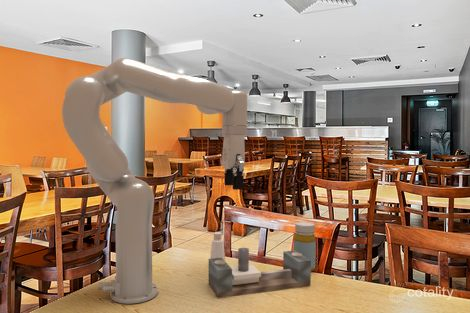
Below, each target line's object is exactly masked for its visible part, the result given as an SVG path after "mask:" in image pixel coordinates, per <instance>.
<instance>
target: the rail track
mask: <svg viewBox="0 0 470 313" xmlns="http://www.w3.org/2000/svg"><path fill="white" fill-rule="evenodd" d="M282 261H283V262H282V265H283V266H282V269H276V270H267V271H260V272H261V277H259V282H254V283H246V284H238V285H232V268H231V267H232V266H230V265H229V264H228V263H227V262H226V260H225V261H224V260H223V258H213V259H210V258H208V286H209V287H210V288H211V290H212V292H213V293H214V295H215V297H217V299H220V298H222V299H223V298H228V297H229V298H230V297H236V296H237V297H238V296H243V295H252V294H258V293H259V294H260V293H266V292H267V293H268V292H274V291H282V290H289V289H296V288H304V287H311V286H312V285H311V284H312V283H311V278H312V277H311V276H312V274H311V273H312V272H311V260H309V259H308V258H306V257H305V256H303V255H302V254H301V253H298V252H297V251H294V250H287V251H283V258H282Z"/></svg>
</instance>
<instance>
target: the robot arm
mask: <svg viewBox="0 0 470 313" xmlns="http://www.w3.org/2000/svg"><path fill="white" fill-rule="evenodd" d="M125 93H131V94H134V95H137V96H141V97H145V98H149V99H152V100H155V101H158V102H163V103H167V104H187V105H192V106H196V109H197V110H198V111H199V112H201V113H202V114H204V115H217V114H218V115H219V114H222V126H221V128H222V129H221V130H222V131H221V132H222V134H221V135H222V137H223V142H222V143H223V144H222V153H221V154H222V155H221V159H222V160H221V166H222V168H224V186H232V190H235V191H237V190H244V176H245V173H244V171H245V170H244V169H245V163H246V162H245V161H246V160H245V159H246V153H245V152H246V151H245V150H246V148H245V147H246V146H245V137H247V136H248V130H247V129H248V94H247V93H246V92H245V91H243V90H231V89H230V88H229V87H227V86H225V85H224V84H220V83H219V82H218V83H217V82H214V81H212V80H207V79H205V78H202V77H201V78H200V77H195V76H193V75H192V76H191V75H187V74H181V73H177V72H172V71H169V70H166V69H164V68H163V69H162V68H159V67H157V66H153V65H151V64H148V63H146V62H145V63H144V62H143V61H142V62H141V61H139V60H136V59H132V58H128V57H121V58H118V59H115V61H114V60H113V62H112V63H110V64H109V65H107V66H106V67H104V68H102V69H100V70H98V71H95V72H94V73H91V74H90V75H86V76H85V75H82V76H79V77H77V78H76V79H74V80H73V81H71V82H70V84H69V85H68V86H67V88H66V90H65V92H64V99H63V103H62V109H61V116H62V117H61V118H62V123H63V125H64V127H63V128H64V129H65V132H66V134H67V136H68V137H69V138H70V140H71V142H72V143H73V144H74V146H75V147H76V149H77V150H78V152H79V154H80V155H81V156H82V157H83V159H84V160H85V166H86V169H87V171H88V173H89V174H90V176H91V177H92V179H93V180H94V182H96V184H97V185H98V187H99V188H100V189H101V191H102V192H103V193H104V195H105V196H106V197H107V198H108V200H109V201H110V202H111V203H112V204H113V205H114V206H115V207H116V219H115V275H114V279H110V281H99V282H98V285H97V286H98V287H97V288H98V290H102V292H103V293H105V292H110V294H109V298H110V299H111V300H112V301H114V302H116V303H118V304H124V305H125V304H127V305H130V304H132V305H133V304H139V303H145V302H147V301H149V300H152V299H154V298H155V297H156V296H157V295H158V293H159V287H158V286H157V285H156V284H154V283H153V214H154V209H155V208H154V207H155V195H154V190H153V189H152V187H151V185H149V184H148V183H147V182H146V181H144V180H142V179H140V178H137V177H135V175H134V174H133V173H132V171H131V169H130V168H129V161H128V157H127V156H126V154H125V153H124V152H123V150H122V149H121V148H120V147H119V145H118V143H117V142H116V141H115V140H114V138H113V137H112V135H111V134H110V133H109V131H108V129H107V128H106V127H105V125H104V124H103V121H102V119H101V114H100V113H101V112H100V110H101V106H102V105H105V104H107V103H109V102H110V101H112V100H114V99H116V98H117V97H120V96H121V95H123V94H125Z"/></svg>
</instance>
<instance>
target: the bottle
mask: <svg viewBox="0 0 470 313" xmlns="http://www.w3.org/2000/svg"><path fill="white" fill-rule="evenodd" d="M294 225H295V226H294V227H295V228H294V232H295V234H294V236H293V251H297V252H298V253H301V254H302V255H303V256H305V257H306V258H308V259H309V260H311V273H312V272H313V271H314V270H315V269H316V245H317V244H316V241H317V239H316V236H315V229H316V228H315V226H316V225H315V223H313V222H312V221H311V222H310V221H298V222H295V224H294Z"/></svg>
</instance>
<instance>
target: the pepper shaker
mask: <svg viewBox="0 0 470 313" xmlns="http://www.w3.org/2000/svg"><path fill="white" fill-rule="evenodd" d="M222 234H223V233H222V232H221V231H215V232H213V239H212V240H211V248H210V258H209V259H213V258H223V260H224V261H225V262H226V253H225V245H224V244H225V243H224V240H223V239H222V238H223V236H222Z"/></svg>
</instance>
